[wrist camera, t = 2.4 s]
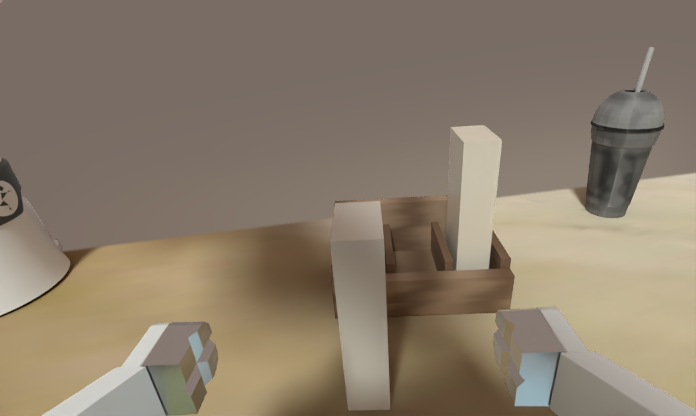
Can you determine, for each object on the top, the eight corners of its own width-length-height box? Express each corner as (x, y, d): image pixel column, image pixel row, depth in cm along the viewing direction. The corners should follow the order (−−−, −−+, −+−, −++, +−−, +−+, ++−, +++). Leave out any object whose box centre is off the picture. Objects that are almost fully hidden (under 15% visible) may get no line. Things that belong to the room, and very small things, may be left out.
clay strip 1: (348, 410, 27) (329, 241, 21) (350, 355, 31) (335, 203, 25) (390, 409, 27) (383, 239, 21) (386, 354, 31) (379, 200, 25)
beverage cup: (561, 206, 52) (590, 50, 44) (598, 194, 55) (633, 44, 46) (612, 228, 46) (658, 52, 38) (652, 214, 49) (703, 45, 40)
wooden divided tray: (335, 318, 36) (327, 250, 32) (340, 259, 45) (335, 201, 41) (509, 312, 35) (519, 241, 31) (478, 252, 44) (484, 193, 40)
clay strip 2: (455, 283, 37) (463, 142, 30) (445, 255, 41) (450, 127, 35) (487, 282, 36) (502, 140, 30) (473, 254, 41) (483, 125, 35)
